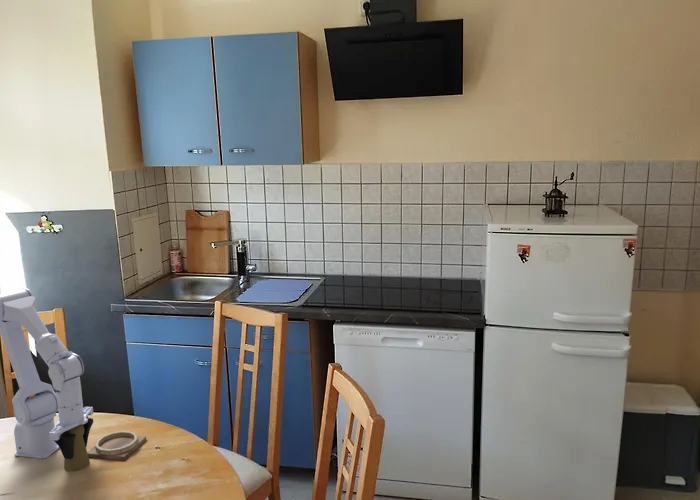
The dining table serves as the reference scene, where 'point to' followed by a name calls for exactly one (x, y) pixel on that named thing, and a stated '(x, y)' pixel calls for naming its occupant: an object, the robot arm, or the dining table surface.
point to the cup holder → (116, 445)
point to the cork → (77, 451)
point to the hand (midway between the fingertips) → (75, 452)
